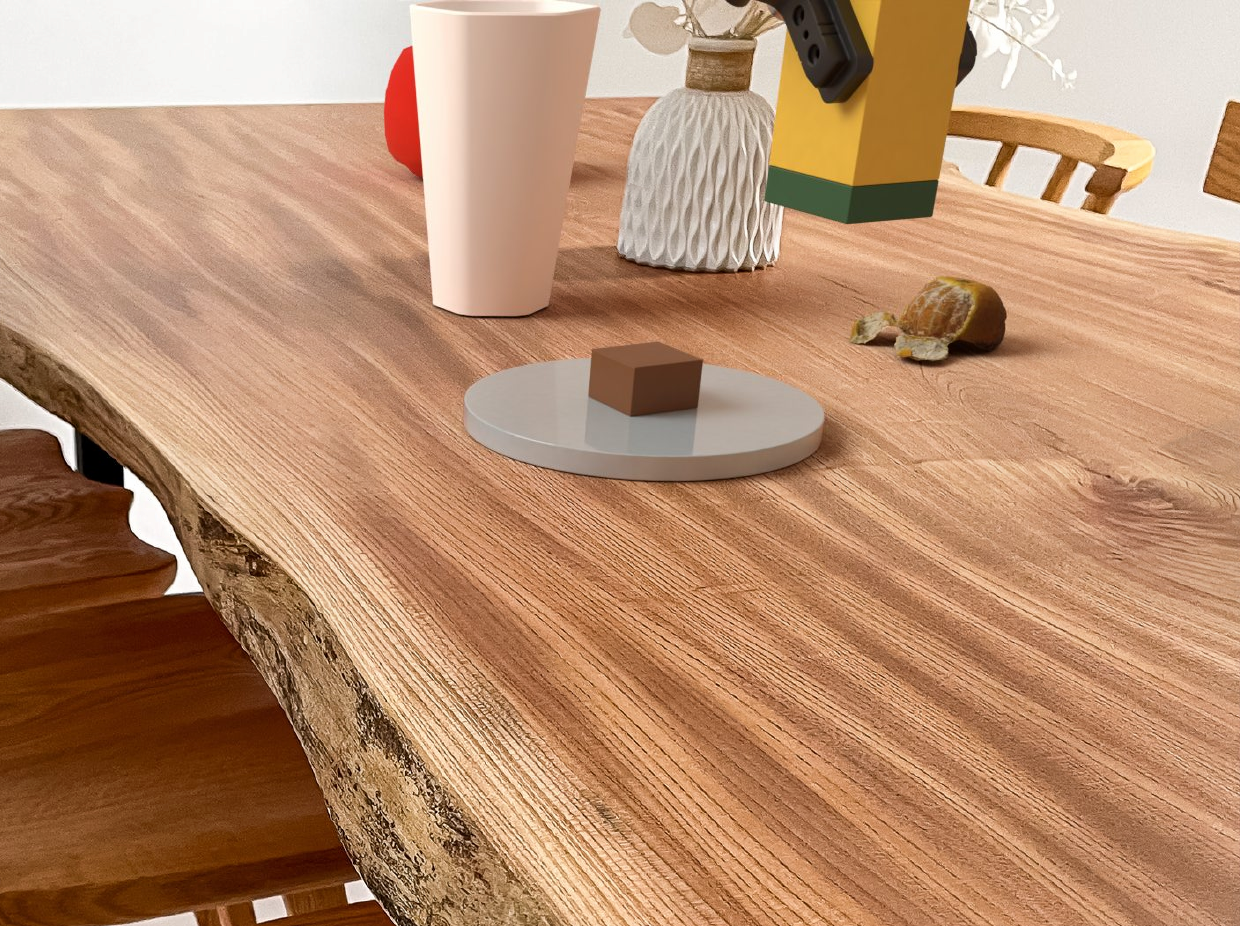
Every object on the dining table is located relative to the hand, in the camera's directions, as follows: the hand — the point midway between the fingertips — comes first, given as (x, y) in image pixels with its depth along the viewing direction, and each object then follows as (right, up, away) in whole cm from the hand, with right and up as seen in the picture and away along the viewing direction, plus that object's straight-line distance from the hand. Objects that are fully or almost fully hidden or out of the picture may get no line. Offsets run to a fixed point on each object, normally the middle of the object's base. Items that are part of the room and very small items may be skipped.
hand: (902, 83), depth 63 cm
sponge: (-1, -3, +4) cm, 5 cm away
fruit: (+14, +4, +41) cm, 44 cm away
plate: (-5, -5, +27) cm, 27 cm away
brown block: (-5, -4, +26) cm, 27 cm away
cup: (-10, +9, +49) cm, 51 cm away
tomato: (-9, +34, +91) cm, 98 cm away
